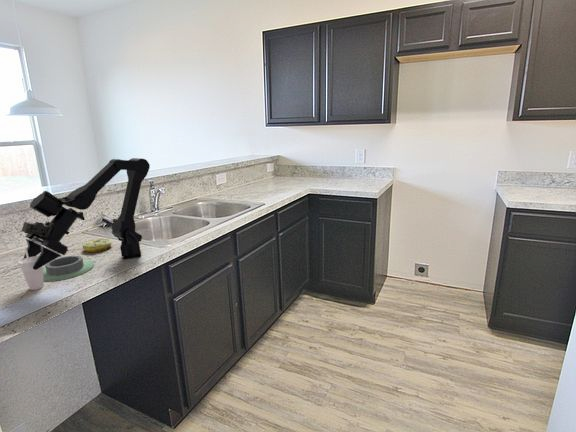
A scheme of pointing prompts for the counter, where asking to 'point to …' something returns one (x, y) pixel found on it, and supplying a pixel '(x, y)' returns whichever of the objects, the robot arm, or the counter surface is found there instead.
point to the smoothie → (31, 272)
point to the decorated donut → (97, 245)
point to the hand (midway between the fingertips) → (28, 265)
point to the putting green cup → (66, 268)
